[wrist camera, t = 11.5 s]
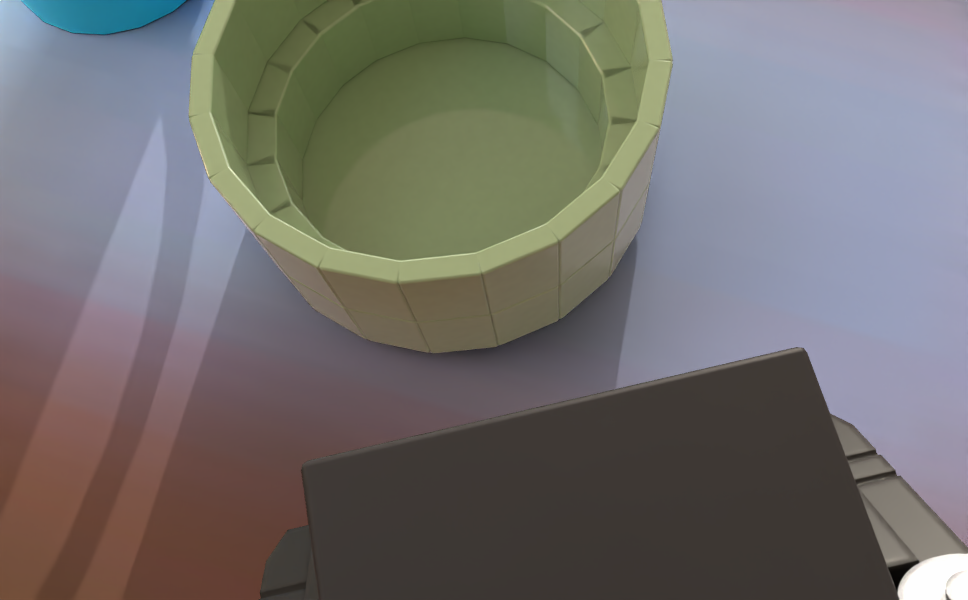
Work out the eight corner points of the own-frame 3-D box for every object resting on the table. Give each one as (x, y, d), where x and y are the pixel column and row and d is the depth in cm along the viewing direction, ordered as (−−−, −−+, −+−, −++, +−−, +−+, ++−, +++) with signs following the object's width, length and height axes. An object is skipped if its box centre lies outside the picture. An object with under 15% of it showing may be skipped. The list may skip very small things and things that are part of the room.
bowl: (335, 423, 25) (268, 363, 19) (220, 98, 29) (139, -28, 23) (718, 260, 25) (763, 157, 20) (550, -32, 30) (547, -185, 24)
